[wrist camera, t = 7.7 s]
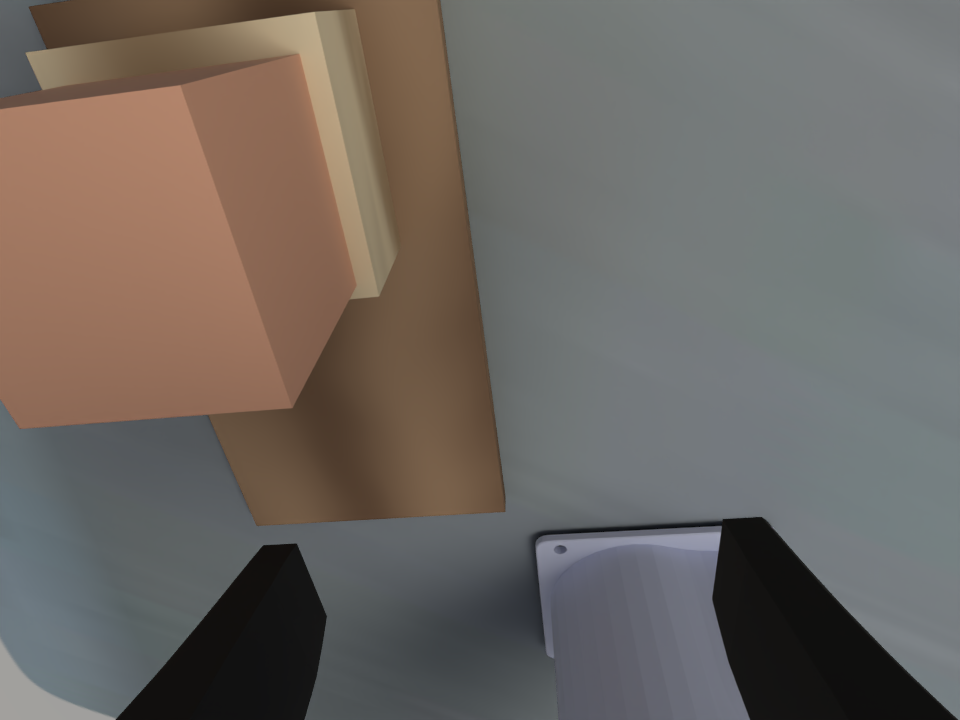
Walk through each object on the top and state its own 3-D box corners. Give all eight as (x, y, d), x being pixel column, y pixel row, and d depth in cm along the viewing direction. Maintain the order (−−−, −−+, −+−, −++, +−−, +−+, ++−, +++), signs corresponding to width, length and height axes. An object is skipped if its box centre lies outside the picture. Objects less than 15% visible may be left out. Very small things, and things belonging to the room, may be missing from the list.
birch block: (354, 9, 14) (314, 12, 11) (401, 245, 17) (379, 296, 14) (122, 41, 15) (25, 52, 12) (207, 264, 18) (146, 318, 15)
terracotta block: (299, 53, 12) (179, 85, 7) (356, 285, 14) (292, 408, 10) (64, 85, 12) (-174, 132, 8) (161, 304, 15) (19, 428, 10)
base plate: (433, -51, 14) (429, -54, 14) (505, 497, 24) (505, 511, 23) (49, 6, 15) (28, 6, 15) (263, 511, 24) (256, 525, 24)
